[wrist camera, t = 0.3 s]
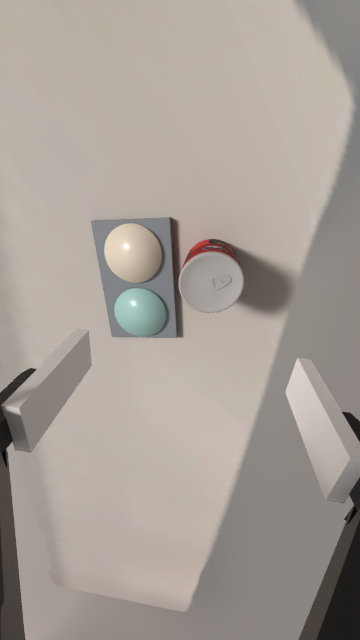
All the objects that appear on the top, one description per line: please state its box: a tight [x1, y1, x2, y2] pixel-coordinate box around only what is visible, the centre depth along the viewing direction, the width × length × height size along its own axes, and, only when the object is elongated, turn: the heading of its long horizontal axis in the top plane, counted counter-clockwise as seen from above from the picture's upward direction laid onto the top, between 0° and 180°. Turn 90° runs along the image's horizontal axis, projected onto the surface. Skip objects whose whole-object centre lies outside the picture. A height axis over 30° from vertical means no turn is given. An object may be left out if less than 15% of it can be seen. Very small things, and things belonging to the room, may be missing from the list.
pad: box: [114, 287, 166, 337], centre depth 44 cm, size 9×9×1 cm
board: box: [91, 217, 177, 338], centre depth 42 cm, size 20×12×2 cm, turn 2°
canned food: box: [179, 239, 244, 313], centre depth 36 cm, size 8×8×11 cm
